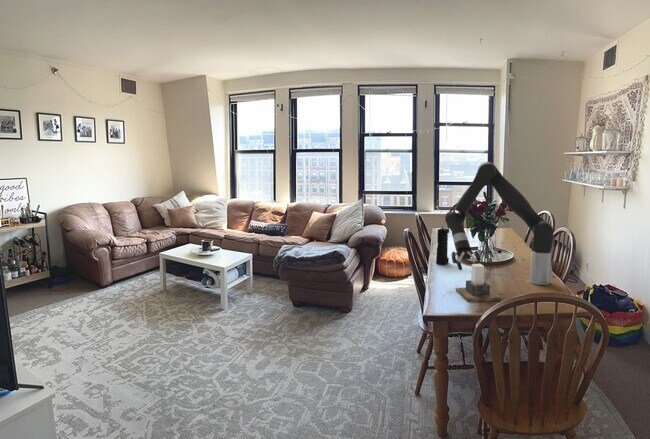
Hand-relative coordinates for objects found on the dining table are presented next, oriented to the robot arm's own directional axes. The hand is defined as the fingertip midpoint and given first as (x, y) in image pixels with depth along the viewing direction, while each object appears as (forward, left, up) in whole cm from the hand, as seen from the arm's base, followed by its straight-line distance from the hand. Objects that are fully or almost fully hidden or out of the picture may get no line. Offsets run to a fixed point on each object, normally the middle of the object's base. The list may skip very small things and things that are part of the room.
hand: (469, 269), depth 211 cm
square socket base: (0, +11, -10) cm, 15 cm away
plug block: (0, +11, -9) cm, 14 cm away
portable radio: (-2, -49, -10) cm, 50 cm away
